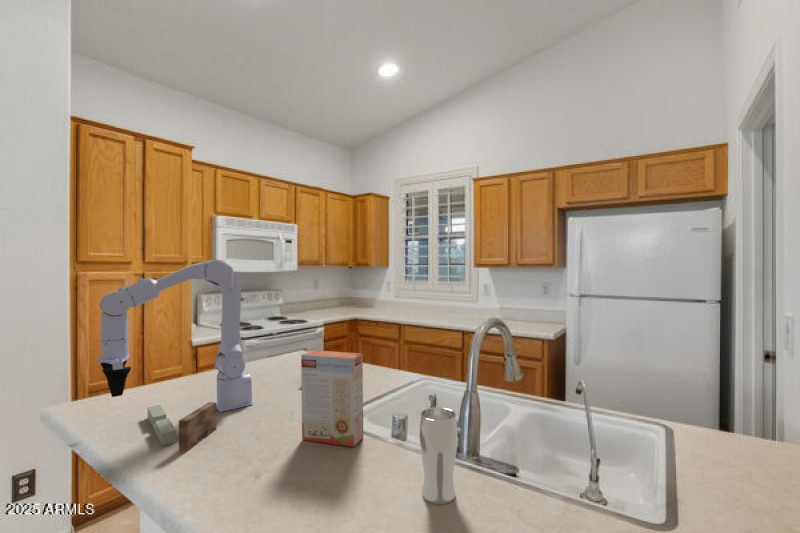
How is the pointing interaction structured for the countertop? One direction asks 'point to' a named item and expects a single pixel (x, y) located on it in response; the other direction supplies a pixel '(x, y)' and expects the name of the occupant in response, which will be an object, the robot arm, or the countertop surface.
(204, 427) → the walnut plate
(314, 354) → the cracker box
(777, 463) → the countertop surface
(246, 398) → the robot arm
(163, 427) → the slotted rail
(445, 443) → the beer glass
